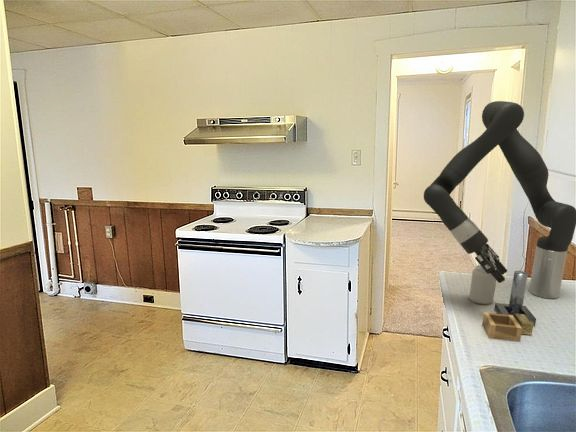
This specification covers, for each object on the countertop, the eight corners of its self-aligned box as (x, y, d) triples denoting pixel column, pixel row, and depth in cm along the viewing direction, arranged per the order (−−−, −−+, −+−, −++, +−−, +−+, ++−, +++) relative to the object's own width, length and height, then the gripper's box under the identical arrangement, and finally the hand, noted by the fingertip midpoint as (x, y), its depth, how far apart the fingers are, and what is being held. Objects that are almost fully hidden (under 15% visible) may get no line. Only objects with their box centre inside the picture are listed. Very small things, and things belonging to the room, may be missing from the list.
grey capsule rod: (505, 314, 130) (512, 270, 127) (517, 315, 130) (525, 271, 126) (509, 319, 127) (516, 274, 123) (521, 321, 126) (529, 275, 123)
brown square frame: (482, 324, 124) (483, 312, 123) (510, 327, 122) (512, 315, 121) (489, 337, 116) (491, 325, 115) (520, 341, 114) (522, 328, 113)
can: (491, 307, 135) (496, 273, 132) (467, 302, 139) (471, 268, 136) (494, 299, 141) (499, 266, 138) (470, 294, 145) (475, 262, 142)
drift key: (512, 322, 125) (514, 311, 124) (523, 323, 124) (525, 312, 124) (520, 333, 118) (522, 322, 117) (531, 334, 118) (533, 323, 117)
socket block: (494, 309, 133) (495, 302, 133) (524, 312, 132) (525, 305, 131) (502, 323, 125) (503, 315, 124) (534, 326, 123) (536, 318, 123)
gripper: (475, 234, 123) (513, 278, 120) (481, 224, 135) (515, 264, 132) (454, 247, 127) (490, 290, 124) (462, 237, 139) (495, 276, 135)
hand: (503, 277), depth 128 cm, fingers open, 8 cm apart
